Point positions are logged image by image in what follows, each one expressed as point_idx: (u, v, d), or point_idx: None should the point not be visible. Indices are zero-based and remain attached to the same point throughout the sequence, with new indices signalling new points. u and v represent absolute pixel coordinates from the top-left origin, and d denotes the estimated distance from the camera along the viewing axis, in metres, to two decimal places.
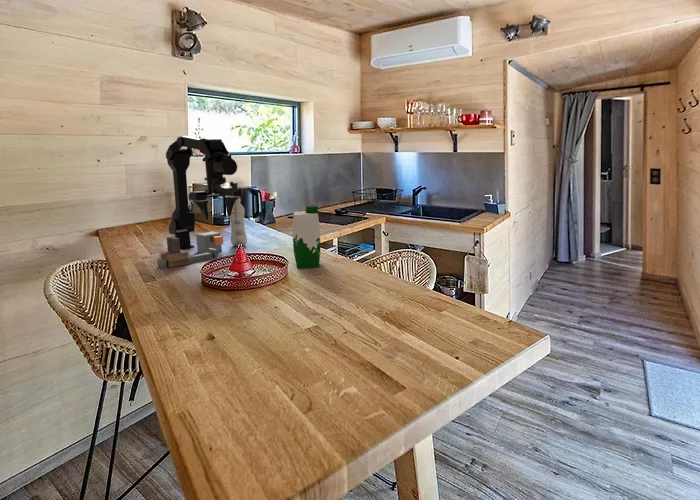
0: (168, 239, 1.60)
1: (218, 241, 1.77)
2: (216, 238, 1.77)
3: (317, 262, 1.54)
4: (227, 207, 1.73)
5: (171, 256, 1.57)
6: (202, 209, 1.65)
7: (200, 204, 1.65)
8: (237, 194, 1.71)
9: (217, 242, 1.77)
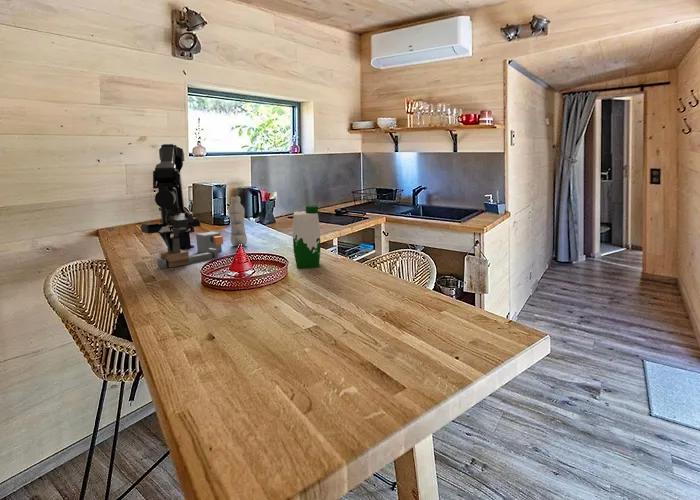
0: None
1: (218, 241, 1.77)
2: (216, 238, 1.77)
3: (317, 262, 1.54)
4: None
5: (171, 256, 1.57)
6: (165, 240, 1.59)
7: (163, 235, 1.58)
8: (194, 224, 1.62)
9: (217, 242, 1.77)
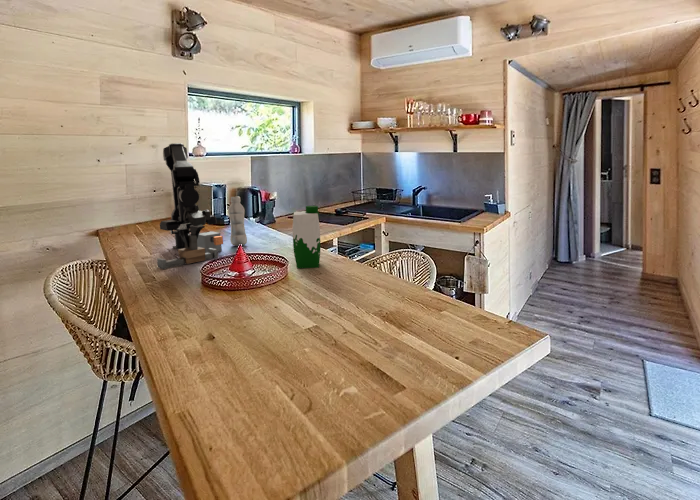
0: None
1: (218, 241, 1.77)
2: (216, 238, 1.77)
3: (317, 262, 1.54)
4: None
5: (189, 253, 1.62)
6: (183, 237, 1.63)
7: (181, 232, 1.63)
8: (211, 222, 1.67)
9: (217, 242, 1.77)
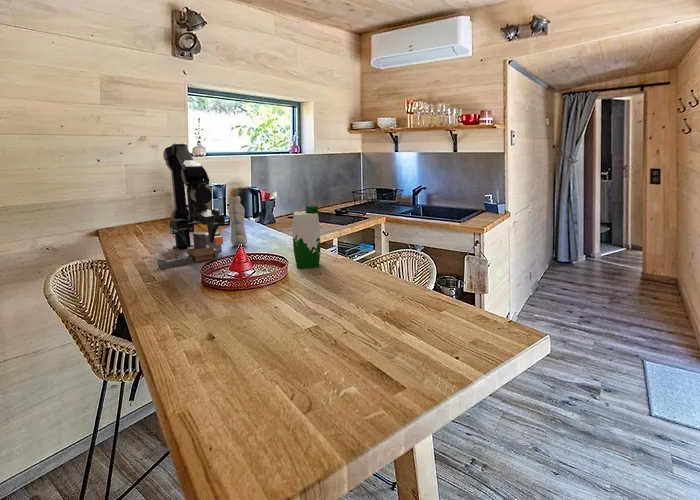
0: (194, 235, 1.67)
1: (218, 241, 1.77)
2: (216, 238, 1.77)
3: (317, 262, 1.54)
4: (209, 233, 1.71)
5: (198, 251, 1.64)
6: (183, 237, 1.63)
7: (181, 232, 1.63)
8: (219, 221, 1.69)
9: (217, 242, 1.77)
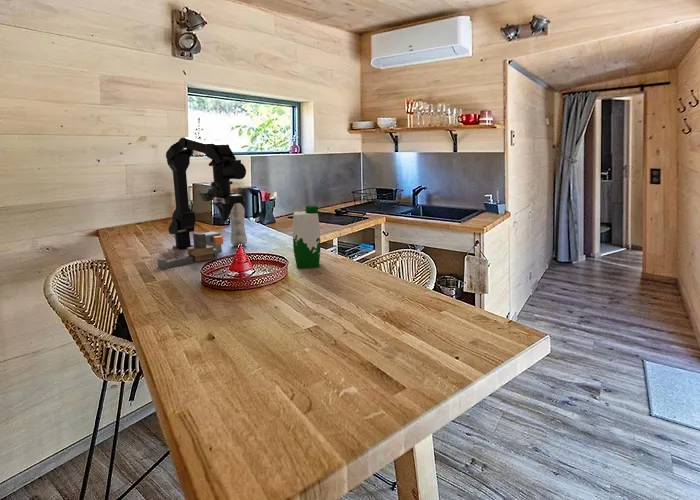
0: (194, 235, 1.67)
1: (218, 241, 1.77)
2: (216, 238, 1.77)
3: (317, 262, 1.54)
4: None
5: (198, 251, 1.64)
6: None
7: None
8: (226, 201, 1.64)
9: (217, 242, 1.77)
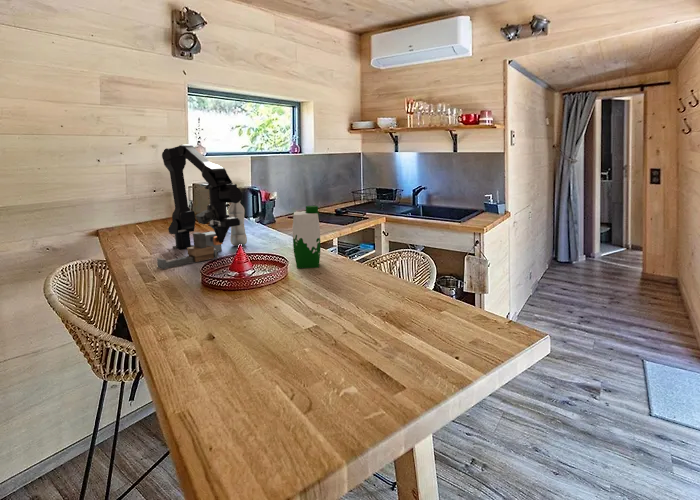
0: (194, 235, 1.67)
1: (218, 241, 1.77)
2: (216, 238, 1.77)
3: (317, 262, 1.54)
4: None
5: (198, 251, 1.64)
6: None
7: None
8: (222, 224, 1.68)
9: (217, 242, 1.77)
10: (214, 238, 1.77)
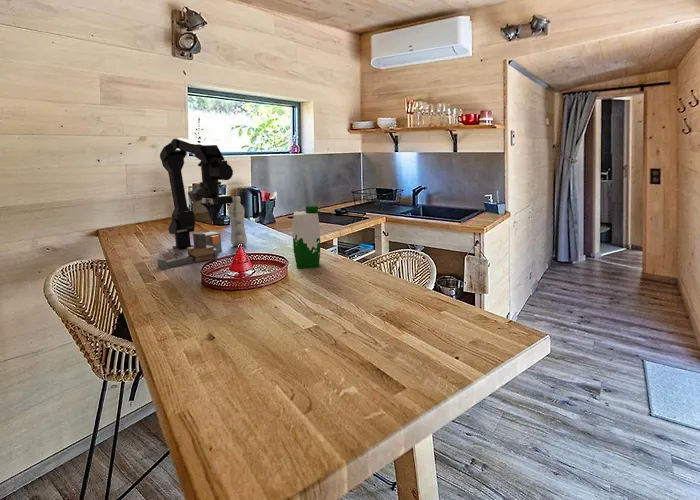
0: (194, 235, 1.67)
1: (215, 240, 1.79)
2: (213, 237, 1.78)
3: (317, 262, 1.54)
4: None
5: (198, 251, 1.64)
6: None
7: None
8: (215, 202, 1.65)
9: (214, 241, 1.79)
10: (211, 237, 1.78)
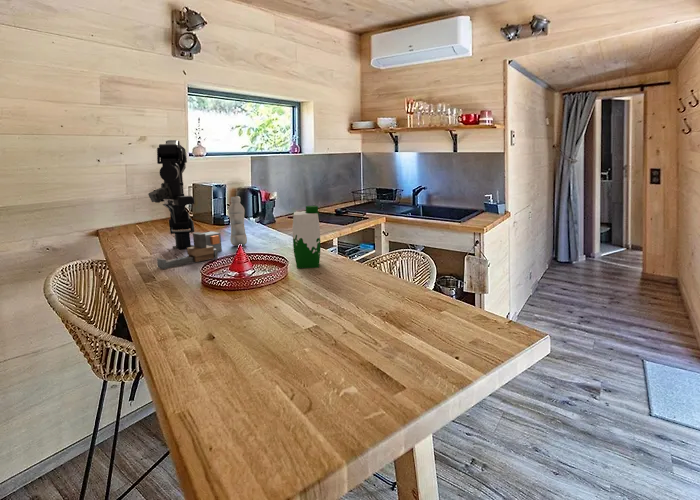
0: (194, 235, 1.67)
1: (215, 240, 1.79)
2: (213, 237, 1.78)
3: (317, 262, 1.54)
4: None
5: (198, 251, 1.64)
6: None
7: None
8: (175, 203, 1.62)
9: (214, 241, 1.79)
10: (211, 237, 1.78)
